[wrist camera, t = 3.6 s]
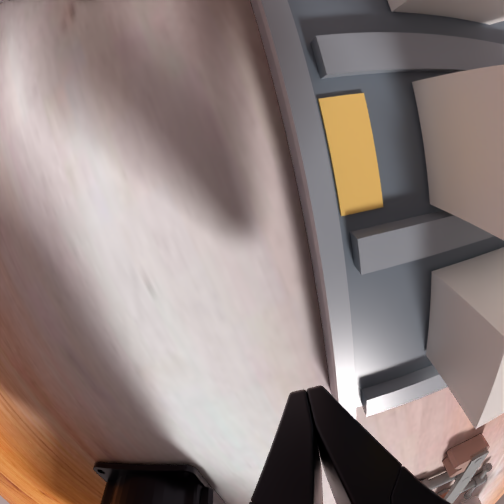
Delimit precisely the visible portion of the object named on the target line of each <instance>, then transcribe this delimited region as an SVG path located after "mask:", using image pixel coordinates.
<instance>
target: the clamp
mask: <svg viewBox="0 0 504 504" xmlns="http://www.w3.org/2000/svg"><path fill="white" fill-rule="evenodd" d="M489 447H490V446H489V445H488V443H487V441H486V440H485V438H484V436H483V435H482V434H479V435H477V436H475V437H473V438H471V439H469V440H467V441H465V442H463V443H461V444H459V445H457V446H455V447H453V448H451V449H449V450H448V451H447V452H446V453H447V455H448V457H447V458H445V459H444V460H443V461H442V462H443V464H444V466H445V468H446V470H447V472H445V473H443V474H441V475H439V476H436V477H434V478H432V479H429V480H428V478H426V479H424V480H422V481H421V482H422V483H423V484H424V485H426V486H427V487H428V488H429V489H431V490H432V489H435V488H437V487H439V486H441V485H443V484H446V483H448V482H450V481H452V480H454V479H455V482H454V484H453V485H452V487H451V488H450V490H448V489H446V490H443V491H441V492H439V493H438V495H439V496H441V497H442V498H443V499H445V500H447V501H448V502H450V503H451V504H453V503H454V501H455V500H456V499H457V497H458V496H459V495H460V493H462V492H464V491H466V490H468V489H470V490H469V491H468V492H466V493H465V494H464V498H465V499H469V498H470V497H471V496H472V492H473V491H474V490H475V488H476V487H478V486H479V485H481V484H483V483H485V482H486V480H487V475H486V473H487V472H489V471H490V470H491V469H492V465H491V464H490V463H486V464H485V465H484V466H483V471H482V472H481V473H480V474H478V475H476V476H474V474H475V473H476V471H477V470H478V468H479V467H480V465H481V464H482V462H483V461H484V459H485V458H486V456H487V454H488V453H489V452H488V448H489ZM473 476H474V477H473ZM470 480H471V481H470Z"/></svg>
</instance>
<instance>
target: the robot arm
mask: <svg viewBox="0 0 504 504" xmlns="http://www.w3.org/2000/svg"><path fill="white" fill-rule="evenodd" d="M319 454H320V455H319ZM320 458H321V461H320ZM321 462H322V465H323V468H324V471H325V474H326V477H327V479H328V482H329V485H330V487H331V490H332V493H333V496H334V498H335V501H336V504H451V503H450V502H448V501H447V500H445V499H443V498H442V497H441V496H439V495H438V494H436V493H435V492H434V491H432V490H431V489H429V488H428V487H427V486H426V485H424V484H423V483H422V482H421V481H420V480H419V479H417V478H416V477H415V476H414V475H413V474H412V473H411V472H410V471H409V470H408V469H406V468H405V467H404V466H402V464H401V463H400V462H399V461H398V460H397V459H396V458H395V457H394V456H393V455H391V454H390V453H389V452H388V451H387V450H386V449H385V448H384V447H383V446H382V445H381V444H380V443H379V442H378V441H377V440H376V439H375V438H374V437H373V436H372V435H371V434H370V433H369V432H368V431H367V430H366V429H365V428H364V427H363V426H362V425H361V424H360V423H359V422H358V421H357V420H356V419H355V418H354V417H353V416H352V415H351V414H350V413H349V412H348V411H347V410H346V409H345V408H344V407H343V406H342V405H341V404H340V403H339V402H338V401H337V400H336V399H335V398H334V397H333V396H332V395H331V394H330V393H329V392H328V391H327V390H326V389H325V388H324V387H323V386H316V387H312V388H308V389H307V392H306V390H299V391H295V392H291V393H290V395H289V397H288V400H287V403H286V406H285V409H284V412H283V415H282V418H281V421H280V424H279V427H278V429H277V432H276V435H275V438H274V441H273V443H272V446H271V449H270V452H269V454H268V457H267V460H266V462H265V465H264V468H263V470H262V473H261V475H260V478H259V481H258V483H257V486H256V488H255V491H254V493H253V496H252V498H251V501H252V502H250V503H249V504H323V491H322V470H321ZM93 469H94V471H95V472H96V473H97V474H98V475H99V476H101V477H102V478H103V479H104V480H105V481H106V482H107V483H106V487H105V490H104V494H103V497H102V501H101V504H226V503H225V502H224V501H223V500H222V499H221V497H220V496H219V495H218V494H217V493H216V492H215V490H214V489H212V488H211V487H210V485H209V484H208V483H207V482H206V481H205V479H204V478H203V477H202V476H201V474H200V473H199V472H198V471H197V469H196V468H195V467H193V466H190V465H133V464H115V463H102V462H96V463H95V465H94V468H93Z"/></svg>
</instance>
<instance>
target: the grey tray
mask: <svg viewBox="0 0 504 504" xmlns="http://www.w3.org/2000/svg"><path fill="white" fill-rule="evenodd" d="M250 1H251V5H252V8H253V11H254V15H255V18H256V21H257V25H258V28H259V32H260V35H261V39H262V42H263V46H264V50H265V53H266V57H267V61H268V64H269V68H270V72H271V76H272V79H273V83H274V87H275V91H276V95H277V99H278V103H279V107H280V111H281V115H282V120H283V124H284V128H285V132H286V137H287V141H288V145H289V150H290V154H291V159H292V164H293V168H294V173H295V177H296V182H297V187H298V192H299V197H300V202H301V207H302V212H303V217H304V222H305V227H306V233H307V238H308V244H309V249H310V255H311V260H312V266H313V272H314V278H315V284H316V290H317V296H318V303H319V309H320V316H321V322H322V329H323V336H324V343H325V351H326V358H327V366H328V374H329V382H330V390H331V394H332V396H333V397H334V398H335V399H336V400H337V401H338V402H339V403H340V404H341V405H342V406H343V407H344V408H345V409H346V410H347V411H348V412H349V413H350V414H351V415H352V416H353V417H354V418H355V419H356V407H359V406H362V407H363V409H364V412H365V414H366V417H367V416H370V415H374V414H377V413H380V412H383V411H386V410H389V409H392V408H395V407H398V406H400V405H403V404H406V403H409V402H411V401H414V400H417V399H419V398H422V397H424V396H427V395H429V394H432V393H434V392H436V391H439V390H441V389H443V388H446V387H448V386H447V385H446V383H445V382H444V380H443V379H442V377H441V376H440V374H439V373H438V371H437V370H436V369H435V367H434V366H433V364H432V363H431V361H430V360H429V359H428V357H427V356H426V349H427V340H428V329H429V317H430V301H431V275H432V271H434V270H437V269H440V268H443V267H446V266H450V265H453V264H456V263H459V262H462V261H465V260H468V259H471V258H474V257H477V256H480V255H483V254H485V253H488V252H491V251H494V250H497V249H500V248H502V247H504V241H503V240H502V239H500V238H498V237H496V236H494V235H492V234H490V233H488V232H487V231H485V230H483V229H481V228H479V227H477V226H475V225H473V224H471V223H469V222H467V221H465V220H463V219H461V218H459V217H457V216H454V215H452V214H450V213H448V212H446V211H444V210H442V209H440V208H437V207H435V206H433V205H431V204H430V199H429V187H428V176H427V167H426V159H425V151H424V144H423V137H422V131H421V125H420V119H419V114H418V108H417V103H416V98H415V94H414V89H413V85H412V82H414V81H418V80H422V79H427V78H431V77H436V76H440V75H445V74H450V73H455V72H460V71H466V70H472V69H477V68H484V67H490V66H497V65H504V21H501V22H497V23H494V24H491V25H489V24H484V23H480V22H475V21H469V20H464V19H458V18H452V17H445V16H437V15H429V14H419V13H406V12H391V9H390V6H389V3H388V1H387V0H250Z"/></svg>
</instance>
